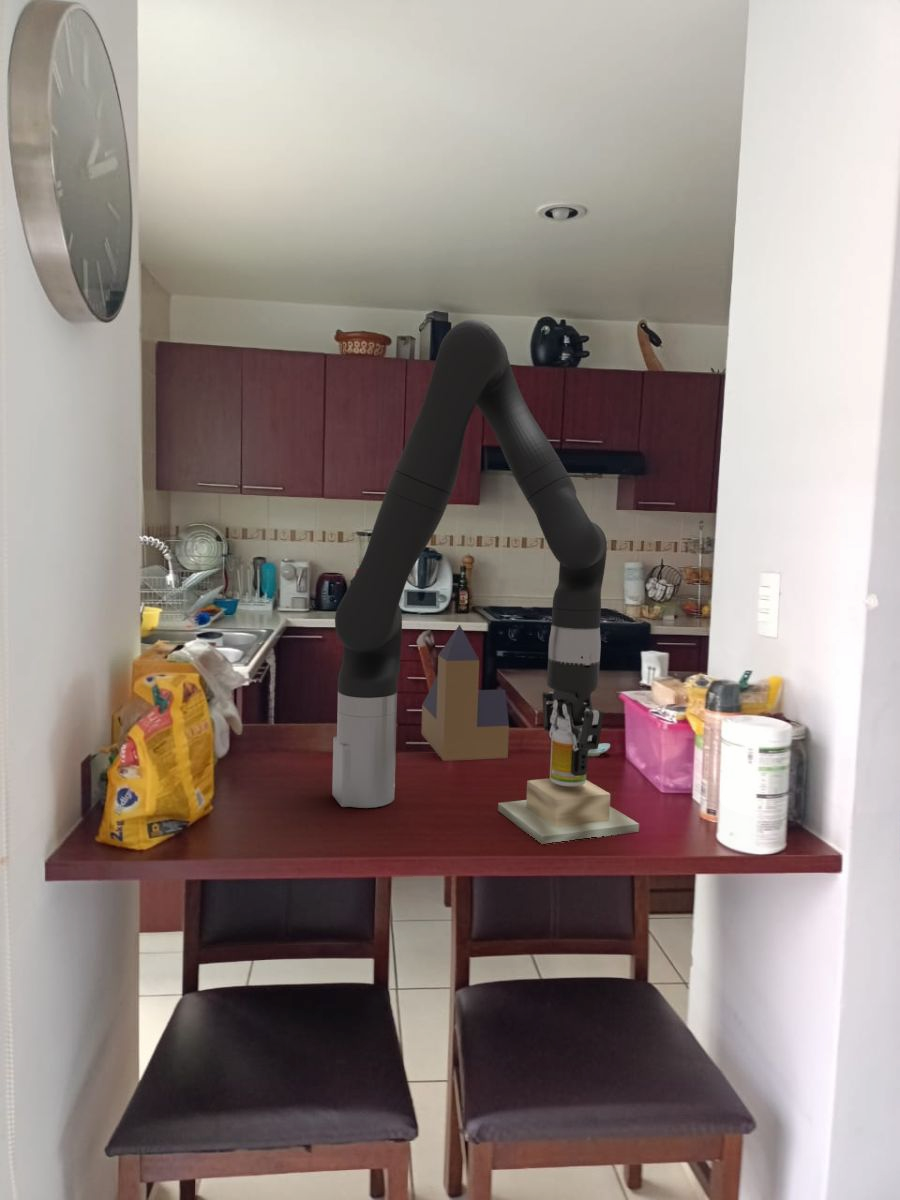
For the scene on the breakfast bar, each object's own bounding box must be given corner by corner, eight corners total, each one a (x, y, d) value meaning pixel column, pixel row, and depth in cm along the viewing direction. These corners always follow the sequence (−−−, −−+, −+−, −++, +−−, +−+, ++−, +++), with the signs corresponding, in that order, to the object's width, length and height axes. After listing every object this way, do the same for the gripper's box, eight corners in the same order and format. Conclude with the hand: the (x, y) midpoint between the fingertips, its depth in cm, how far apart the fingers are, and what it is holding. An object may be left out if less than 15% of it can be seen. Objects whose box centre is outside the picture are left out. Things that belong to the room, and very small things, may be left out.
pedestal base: (541, 845, 114) (543, 808, 114) (498, 810, 127) (499, 777, 126) (638, 831, 120) (640, 797, 120) (587, 800, 133) (589, 768, 133)
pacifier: (567, 750, 163) (573, 758, 157) (568, 718, 162) (575, 725, 156) (604, 750, 163) (611, 758, 157) (605, 719, 163) (613, 726, 157)
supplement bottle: (588, 788, 120) (592, 722, 119) (551, 786, 120) (554, 721, 119) (583, 776, 126) (586, 713, 125) (547, 774, 126) (551, 712, 125)
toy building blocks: (443, 761, 152) (447, 626, 149) (421, 734, 170) (424, 613, 167) (507, 758, 155) (513, 626, 152) (479, 732, 173) (483, 614, 171)
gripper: (528, 649, 126) (523, 757, 128) (577, 666, 113) (571, 786, 115) (571, 648, 129) (565, 753, 131) (623, 664, 116) (616, 781, 118)
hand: (568, 768), depth 123 cm, fingers closed on supplement bottle, 5 cm apart
